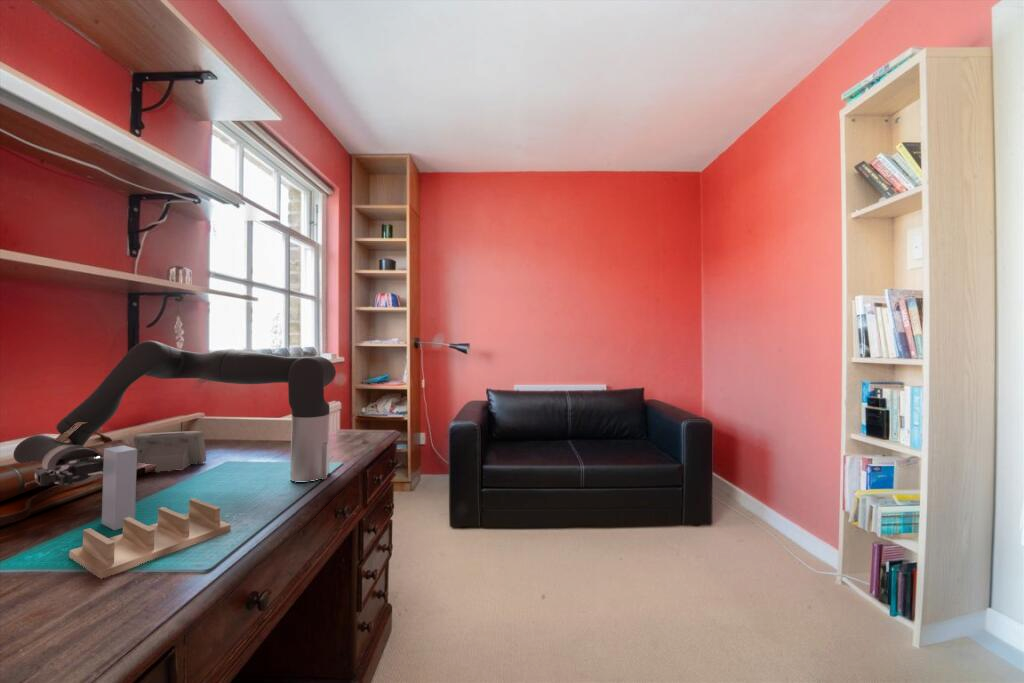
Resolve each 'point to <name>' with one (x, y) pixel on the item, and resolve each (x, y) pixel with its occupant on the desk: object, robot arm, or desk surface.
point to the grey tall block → (119, 485)
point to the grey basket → (170, 449)
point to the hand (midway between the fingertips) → (100, 473)
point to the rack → (148, 539)
